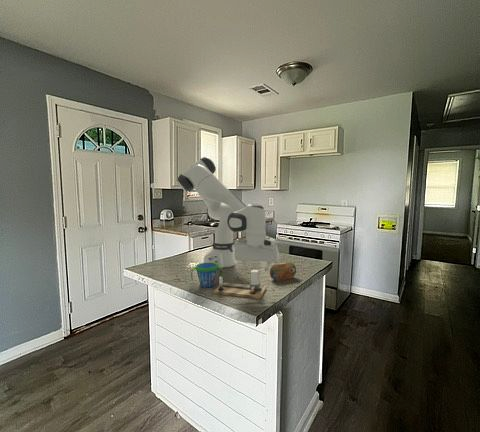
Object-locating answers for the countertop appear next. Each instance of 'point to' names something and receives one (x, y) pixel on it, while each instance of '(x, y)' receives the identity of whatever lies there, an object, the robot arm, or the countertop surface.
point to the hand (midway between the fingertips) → (256, 270)
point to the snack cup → (207, 274)
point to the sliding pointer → (254, 280)
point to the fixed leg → (220, 283)
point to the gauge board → (240, 290)
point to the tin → (282, 271)
